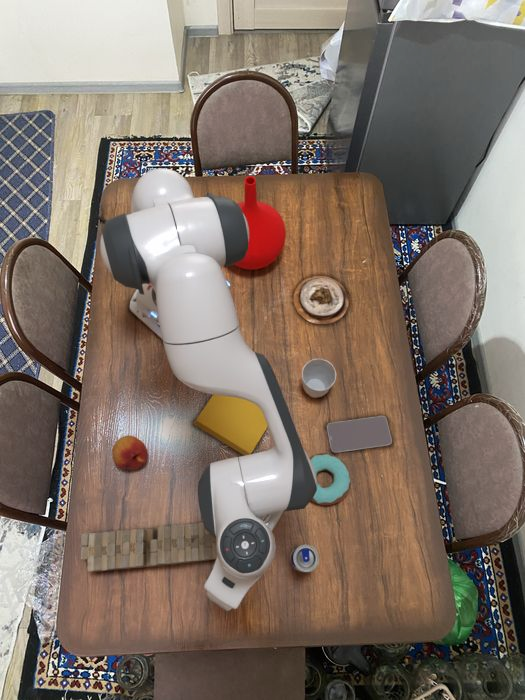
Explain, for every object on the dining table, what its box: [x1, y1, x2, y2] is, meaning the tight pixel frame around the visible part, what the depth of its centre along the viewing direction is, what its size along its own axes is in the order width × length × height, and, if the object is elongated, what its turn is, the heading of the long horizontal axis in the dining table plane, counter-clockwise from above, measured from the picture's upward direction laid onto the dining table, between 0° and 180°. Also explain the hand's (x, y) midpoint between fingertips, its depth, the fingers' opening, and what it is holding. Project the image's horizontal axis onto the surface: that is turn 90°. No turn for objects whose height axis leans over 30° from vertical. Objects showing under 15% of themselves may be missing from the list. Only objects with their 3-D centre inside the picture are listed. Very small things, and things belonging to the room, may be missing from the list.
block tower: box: [80, 521, 217, 572], centre depth 113 cm, size 8×8×29 cm
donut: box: [309, 452, 352, 506], centre depth 121 cm, size 12×12×4 cm
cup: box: [301, 358, 337, 398], centre depth 127 cm, size 8×8×10 cm
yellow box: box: [192, 394, 268, 456], centre depth 128 cm, size 16×14×1 cm
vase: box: [234, 175, 287, 271], centre depth 134 cm, size 18×18×30 cm
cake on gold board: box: [293, 275, 349, 325], centre depth 140 cm, size 15×15×4 cm
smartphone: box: [326, 415, 393, 454], centre depth 126 cm, size 7×1×15 cm
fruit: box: [111, 435, 149, 470], centre depth 121 cm, size 8×8×8 cm
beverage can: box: [289, 544, 320, 573], centre depth 109 cm, size 5×5×15 cm
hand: (249, 552), depth 98 cm, fingers open, 8 cm apart
